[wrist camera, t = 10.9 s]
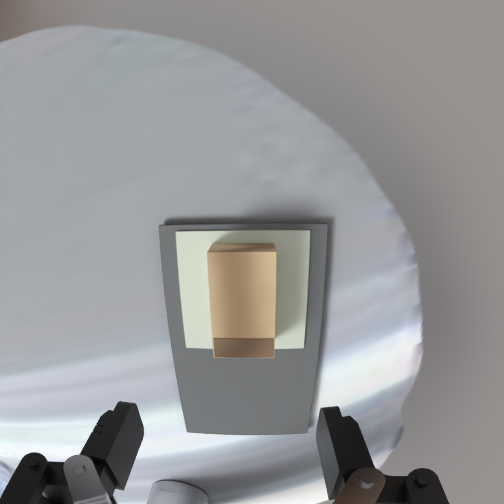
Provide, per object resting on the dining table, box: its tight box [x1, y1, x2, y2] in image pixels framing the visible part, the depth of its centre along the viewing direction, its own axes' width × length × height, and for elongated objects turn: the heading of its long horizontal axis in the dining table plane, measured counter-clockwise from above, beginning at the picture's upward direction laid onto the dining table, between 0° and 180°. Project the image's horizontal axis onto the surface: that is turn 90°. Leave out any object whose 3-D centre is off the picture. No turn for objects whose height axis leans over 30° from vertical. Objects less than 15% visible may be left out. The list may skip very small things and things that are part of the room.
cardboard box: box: [207, 243, 276, 358], centre depth 25 cm, size 5×9×3 cm, turn 0°
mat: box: [159, 223, 328, 435], centre depth 28 cm, size 24×14×1 cm, turn 0°
